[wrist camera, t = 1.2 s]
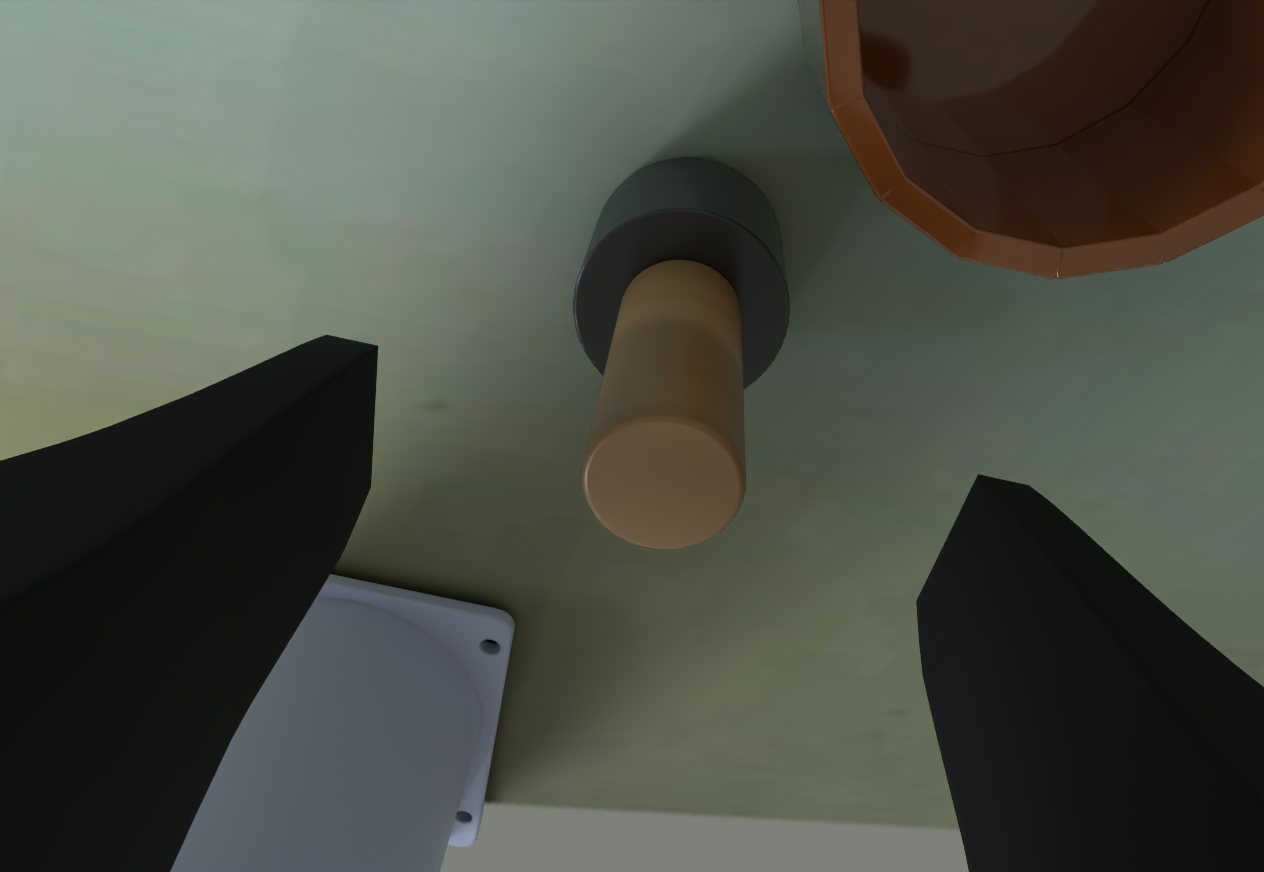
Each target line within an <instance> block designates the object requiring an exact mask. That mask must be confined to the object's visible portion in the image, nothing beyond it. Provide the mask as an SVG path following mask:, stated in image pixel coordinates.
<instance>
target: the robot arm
mask: <svg viewBox="0 0 1264 872" xmlns="http://www.w3.org/2000/svg"><path fill="white" fill-rule="evenodd" d="M377 358H378V346H377V345H372V344H367V343H363V342H358V341H353V340H349V339H344V338H339V337H335V336H330V335H325V336H322V337H319V338H316V339H313V340H311V341H309V342H306V343H304V344H301V345H299V346H297V347H295V348H292V349H290V350H288V351H286V352H283V353H281V354H279V355H277V356H275V357H273V358H270V359H268V360H266V361H264V362H262V363H260V364H257V365H255V366H253V367H251V368H249V369H246V370H244V371H242V372H240V373H237V374H235V375H233V376H231V377H228V378H226V379H224V380H222V381H220V382H217V383H215V384H213V385H211V386H208V387H206V388H204V389H202V390H199V391H197V392H195V393H193V394H190V395H188V396H185V397H183V398H180V399H178V400H175V401H172V402H170V403H167V404H165V405H162V406H160V407H157V408H155V409H152V410H150V411H147V412H145V413H142V414H139V415H137V416H134V417H132V418H129V419H127V420H124V421H122V422H119V423H117V424H114V425H112V426H109V427H106V428H103V429H100V430H98V431H95V432H92V433H89V434H86V435H83V436H80V437H77V438H74V439H71V440H68V441H65V442H62V443H59V444H56V445H52V446H49V447H45V448H42V449H39V450H35V451H32V452H29V453H25V454H22V455H18V456H15V457H12V458H8V459H5V460H1V461H0V872H440V869H441V866H442V862H443V859H444V855H445V851H446V848H447V845H448V844H449V845H454V846H461V847H466V846H470V845H472V844H474V843H475V842H476V840H477V837H478V833H479V829H480V823H481V817H482V811H483V806H484V800H485V794H486V789H487V783H488V777H489V771H490V766H491V760H492V754H493V749H494V743H495V737H496V731H497V726H498V720H499V714H500V709H501V703H502V697H503V692H504V686H505V680H506V674H507V669H508V663H509V657H510V652H511V646H512V640H513V634H514V629H515V624H514V620H513V619H512V617H511V616H510V615H509V614H508V613H506V612H505V611H503V610H500V609H497V608H492V607H487V606H482V605H478V604H473V603H468V602H463V601H458V600H453V599H449V598H444V597H439V596H434V595H429V594H424V593H420V592H415V591H410V590H405V589H400V588H396V587H391V586H386V585H381V584H376V583H371V582H367V581H362V580H357V579H352V578H347V577H342V576H338V575H333V574H331V572H332V570H333V569H334V567H335V565H336V564H337V562H338V560H339V559H340V557H341V555H342V553H343V551H344V549H345V546H346V544H347V542H348V540H349V537H350V535H351V533H352V531H353V528H354V526H355V524H356V521H357V519H358V517H359V514H360V512H361V509H362V507H363V505H364V502H365V500H366V497H367V495H368V493H369V490H370V488H371V475H372V456H373V436H374V417H375V397H376V378H377ZM916 603H917V617H918V632H919V644H920V654H921V663H922V673H923V678H924V683H925V688H926V692H927V697H928V701H929V705H930V709H931V714H932V718H933V722H934V726H935V731H936V735H937V739H938V743H939V747H940V751H941V755H942V759H943V763H944V767H945V771H946V775H947V780H948V784H949V788H950V792H951V796H952V800H953V804H954V808H955V812H956V816H957V820H958V824H959V828H960V832H961V837H962V841H963V845H964V849H965V854H966V859H967V864H968V869H969V872H1264V687H1263V686H1262V685H1260V684H1259V683H1258V682H1256V681H1255V680H1254V679H1252V678H1251V677H1250V676H1249V675H1247V674H1246V673H1245V672H1244V671H1242V670H1241V669H1240V668H1239V667H1238V666H1236V665H1235V664H1234V663H1233V662H1232V661H1230V660H1229V659H1228V658H1227V657H1226V656H1224V655H1223V654H1222V653H1221V652H1220V651H1218V650H1217V649H1216V648H1215V647H1213V646H1212V645H1211V644H1210V643H1209V642H1207V641H1206V640H1205V639H1204V638H1203V637H1201V636H1200V635H1199V634H1198V633H1197V632H1195V631H1194V630H1193V629H1192V628H1191V627H1190V626H1188V625H1187V624H1186V623H1185V622H1184V621H1183V620H1182V619H1180V618H1179V617H1178V616H1177V615H1176V614H1175V613H1173V612H1172V611H1171V610H1170V609H1169V608H1168V607H1167V606H1165V605H1164V604H1163V603H1162V602H1161V601H1160V600H1159V599H1158V598H1156V597H1155V596H1154V595H1153V594H1152V593H1151V592H1150V591H1149V590H1148V589H1146V588H1145V587H1144V586H1143V585H1142V584H1141V583H1140V582H1139V581H1138V580H1137V579H1135V578H1134V577H1133V576H1132V575H1131V574H1130V573H1129V572H1128V571H1127V570H1126V569H1124V568H1123V567H1122V566H1121V565H1120V564H1119V563H1118V562H1117V561H1116V560H1115V559H1114V558H1112V557H1111V556H1110V555H1109V554H1108V553H1107V552H1106V551H1105V550H1104V549H1103V548H1102V547H1100V546H1099V545H1098V544H1097V543H1096V542H1095V541H1094V540H1093V539H1092V538H1091V537H1090V536H1088V535H1087V534H1086V533H1085V532H1084V531H1083V530H1082V529H1081V528H1080V527H1079V526H1077V525H1076V524H1075V523H1074V522H1073V521H1072V520H1071V519H1070V518H1068V517H1067V516H1066V515H1065V514H1064V513H1063V512H1062V511H1060V510H1059V509H1058V508H1057V507H1056V506H1055V505H1053V504H1052V503H1051V502H1050V501H1049V500H1047V499H1046V498H1045V497H1044V496H1042V495H1041V494H1040V493H1038V492H1037V491H1036V490H1034V489H1033V488H1031V487H1030V486H1029V485H1025V484H1020V483H1016V482H1011V481H1006V480H1002V479H997V478H992V477H988V476H983V475H978V476H977V478H976V480H975V482H974V484H973V486H972V488H971V490H970V492H969V494H968V496H967V498H966V500H965V502H964V504H963V506H962V509H961V511H960V513H959V515H958V517H957V519H956V521H955V523H954V525H953V527H952V529H951V531H950V533H949V535H948V537H947V539H946V541H945V543H944V546H943V548H942V550H941V552H940V554H939V556H938V558H937V560H936V562H935V564H934V566H933V568H932V570H931V572H930V574H929V576H928V578H927V580H926V583H925V585H924V587H923V589H922V591H921V593H920V595H919V597H918V599H917V601H916ZM486 640H493V641H496V642H497V643H490V642H488V641H486Z"/></svg>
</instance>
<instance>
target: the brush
mask: <svg viewBox="0 0 1264 872" xmlns="http://www.w3.org/2000/svg"><path fill="white" fill-rule="evenodd" d="M573 313H574V321H575V327H576V331H577V334H578V337H579V340H580V342H581V344H582V347H583V349H584V351H585V353H586V354H587V356H588V357H589V359H590V360H591V362H592V363H593V365H594V366H595V367H596V368H597V369H598V370H599V372H600V373H601V374H602V375H603V380H602V384H601V388H600V393H599V397H598V401H597V405H596V409H595V414H594V418H593V422H592V426H591V430H590V434H589V439H588V443H587V447H586V451H585V455H584V459H583V464H582V470H581V484H582V489H583V493H584V496H585V499H586V501H587V503H588V505H589V507H590V509H591V511H592V512H593V513H594V515H595V516H596V518H597V519H598V520H599V521H600V522H601V523H602V524H603V525H604V526H605V527H606V528H607V529H609V530H610V531H611V532H613V533H614V534H616V535H617V536H619V537H621V538H623V539H625V540H627V541H629V542H631V543H634V544H637V545H640V546H644V547H649V548H656V549H677V548H684V547H689V546H692V545H696V544H699V543H701V542H704V541H706V540H708V539H710V538H711V537H713V536H715V535H716V534H717V533H719V532H720V531H722V530H723V529H724V528H725V527H726V526H727V525H728V524H729V523H730V521H731V520H732V519H733V518H734V516H735V515H736V513H737V512H738V510H739V509H740V506H741V504H742V502H743V499H744V495H745V490H746V463H745V431H744V399H743V390H744V389H745V388H747V387H748V386H749V385H751V384H752V383H753V382H755V381H756V380H757V379H758V378H759V377H760V376H761V375H762V374H763V373H764V372H765V371H766V370H767V369H768V367H769V366H770V365H771V363H772V362H773V361H774V359H775V357H776V356H777V354H778V352H779V350H780V349H781V346H782V344H783V341H784V339H785V336H786V332H787V328H788V324H789V313H790V305H789V293H788V286H787V279H786V272H785V265H784V258H783V251H782V244H781V237H780V232H779V227H778V223H777V220H776V217H775V214H774V212H773V210H772V208H771V206H770V204H769V202H768V201H767V199H766V198H765V197H764V195H763V194H762V192H761V191H760V190H759V189H758V188H757V187H756V186H755V185H754V184H753V183H752V182H751V181H750V180H749V179H747V178H746V177H745V176H744V175H742V174H740V173H739V172H737V171H736V170H734V169H732V168H730V167H728V166H726V165H723V164H721V163H718V162H714V161H711V160H706V159H700V158H675V159H668V160H664V161H660V162H657V163H654V164H652V165H649V166H647V167H645V168H643V169H641V170H639V171H638V172H636V173H634V174H633V175H632V176H630V177H629V178H627V179H626V180H625V181H624V182H623V183H622V184H621V185H620V186H619V187H618V188H617V189H616V190H615V191H614V192H613V194H612V195H611V196H610V198H609V199H608V201H607V202H606V204H605V206H604V208H603V210H602V212H601V214H600V217H599V219H598V222H597V225H596V228H595V230H594V233H593V236H592V239H591V242H590V244H589V247H588V250H587V253H586V256H585V258H584V261H583V264H582V267H581V269H580V272H579V275H578V278H577V282H576V286H575V290H574V299H573Z"/></svg>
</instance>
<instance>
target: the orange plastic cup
mask: <svg viewBox="0 0 1264 872" xmlns="http://www.w3.org/2000/svg"><path fill="white" fill-rule="evenodd" d="M797 1H798V7H799V13H800V20H801V26H802V37H803V46H804V48H805V52H806V54H807V57H808V59H809V62H810V64H811V67H812V69H813V71H814V74H815V76H816V79H817V81H818V83H819V86H820V88H821V91H822V93H823V96H824V98H825V100H826V103H827V105H828V108H829V110H830V112H831V114H832V116H833V118H834V120H835V122H836V124H837V125H838V127H839V129H840V131H841V133H842V135H843V136H844V138H845V140H846V142H847V144H848V146H849V148H850V149H851V151H852V153H853V155H854V157H855V159H856V161H857V162H858V164H859V166H860V168H861V170H862V172H863V173H864V175H865V177H866V179H867V181H868V183H869V185H870V186H871V188H872V190H873V192H874V194H875V196H876V197H878V198H879V200H880V201H881V203H883V204H884V205H885V206H887V207H888V208H889V209H891V210H892V211H894V212H895V213H896V214H898V215H899V216H900V217H902V218H903V219H904V220H906V221H907V222H908V223H910V224H911V225H912V226H914V227H915V228H917V229H918V230H919V231H921V232H922V233H923V234H925V235H926V236H927V237H929V238H930V239H931V240H933V241H934V242H935V243H937V244H938V245H940V246H941V247H942V248H944V249H945V250H946V251H948V252H949V253H950V254H952V255H954V256H957V257H959V258H960V259H964V260H969V261H973V262H978V263H982V264H987V265H991V266H996V267H1000V268H1005V269H1009V270H1014V271H1018V272H1023V273H1027V274H1032V275H1036V276H1041V277H1045V278H1050V279H1053V278H1057V279H1062V278H1069V277H1076V276H1083V275H1089V274H1096V273H1103V272H1110V271H1117V270H1124V269H1131V268H1138V267H1145V266H1152V265H1159V264H1162V263H1163V262H1169V261H1171V260H1173V259H1175V258H1177V257H1179V256H1181V255H1183V254H1186V253H1188V252H1190V251H1192V250H1194V249H1196V248H1198V247H1200V246H1202V245H1204V244H1206V243H1208V242H1210V241H1212V240H1214V239H1216V238H1218V237H1220V236H1223V235H1225V234H1227V233H1229V232H1231V231H1233V230H1235V229H1237V228H1239V227H1241V226H1243V225H1245V224H1247V223H1249V222H1251V221H1253V220H1255V219H1257V218H1260V217H1262V216H1264V0H797Z"/></svg>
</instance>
